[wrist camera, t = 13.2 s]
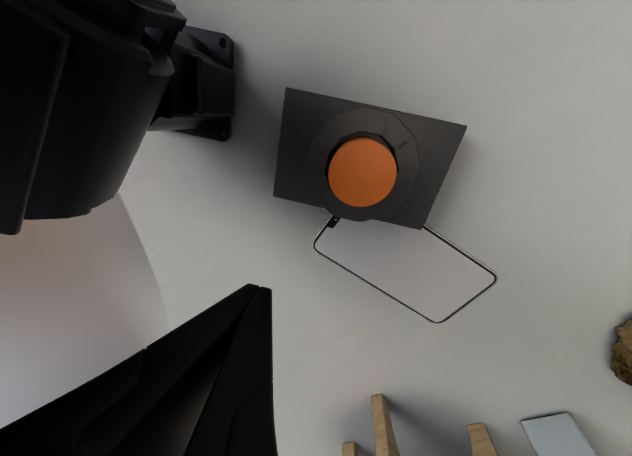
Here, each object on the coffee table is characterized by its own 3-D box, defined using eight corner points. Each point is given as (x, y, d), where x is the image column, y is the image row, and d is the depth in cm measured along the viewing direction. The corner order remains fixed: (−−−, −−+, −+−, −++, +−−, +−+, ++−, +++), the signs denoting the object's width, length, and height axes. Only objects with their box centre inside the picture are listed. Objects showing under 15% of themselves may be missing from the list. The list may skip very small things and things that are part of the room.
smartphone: (437, 327, 23) (307, 248, 21) (435, 321, 23) (308, 244, 21) (503, 277, 20) (357, 179, 18) (499, 273, 20) (357, 177, 18)
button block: (280, 188, 19) (264, 204, 15) (293, 91, 16) (277, 82, 12) (413, 219, 19) (429, 242, 15) (452, 125, 16) (484, 126, 12)
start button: (325, 191, 15) (322, 199, 13) (338, 131, 13) (336, 132, 12) (380, 203, 15) (384, 213, 13) (400, 144, 13) (407, 147, 12)
